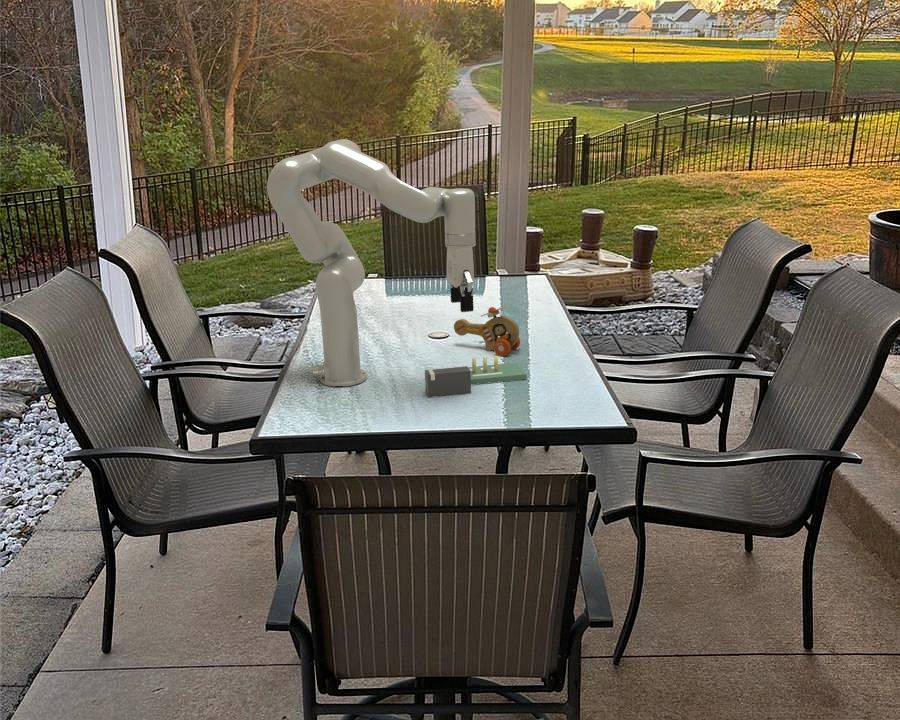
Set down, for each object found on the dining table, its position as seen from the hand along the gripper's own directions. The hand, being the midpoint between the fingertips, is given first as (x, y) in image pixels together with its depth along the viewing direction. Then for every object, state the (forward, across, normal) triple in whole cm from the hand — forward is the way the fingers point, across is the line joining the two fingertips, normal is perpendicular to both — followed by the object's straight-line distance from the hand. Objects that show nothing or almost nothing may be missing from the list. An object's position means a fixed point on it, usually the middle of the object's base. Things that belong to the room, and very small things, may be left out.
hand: (461, 306), depth 221 cm
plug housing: (+21, +4, -5) cm, 22 cm away
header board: (+21, -4, +7) cm, 23 cm away
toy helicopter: (+21, -27, +15) cm, 38 cm away
